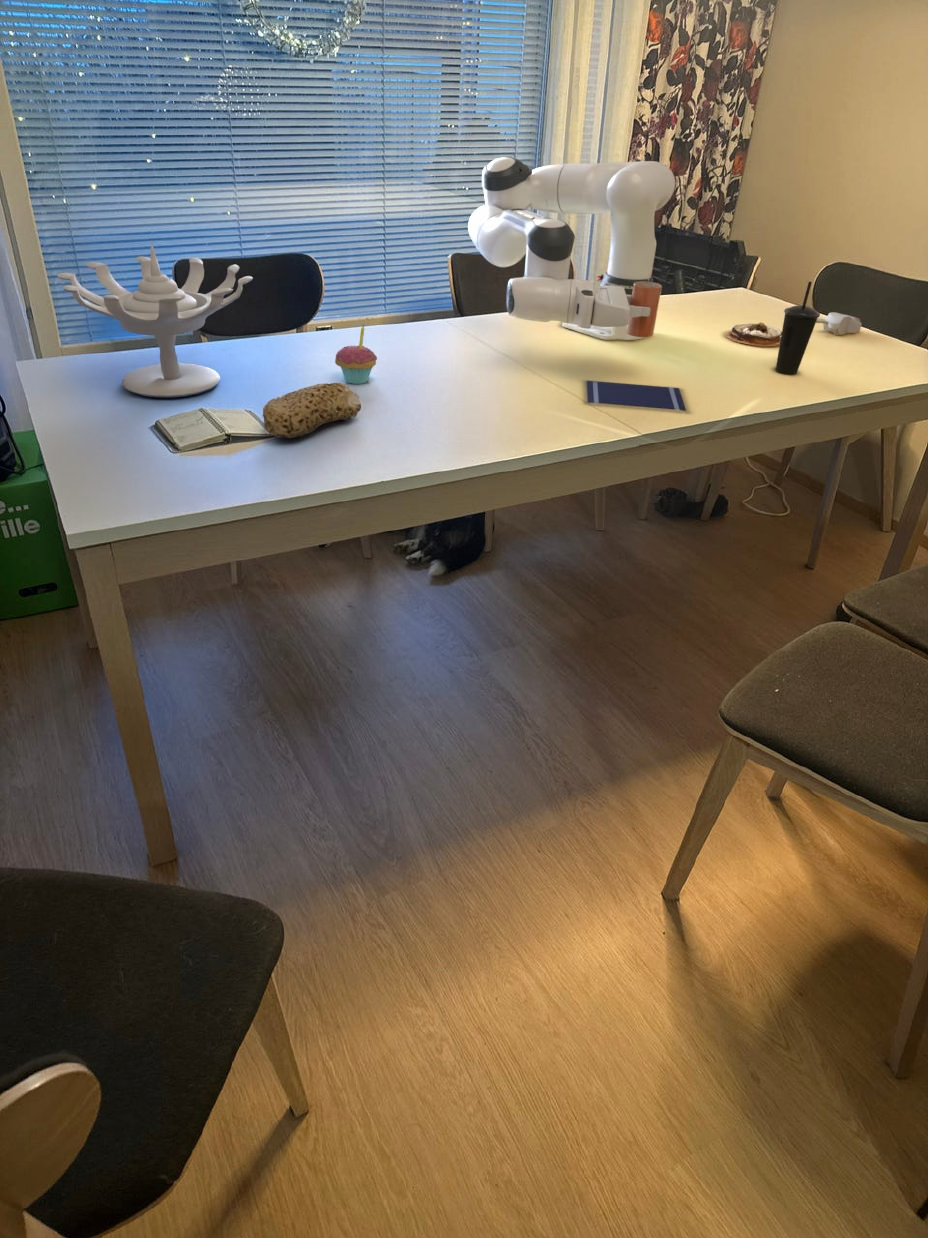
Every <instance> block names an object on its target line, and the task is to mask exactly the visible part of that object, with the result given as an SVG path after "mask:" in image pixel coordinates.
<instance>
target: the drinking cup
mask: <svg viewBox="0 0 928 1238" xmlns="http://www.w3.org/2000/svg"><path fill="white" fill-rule="evenodd" d="M812 283H813V282H812V281H808V283H807V286H806V290H805V294H804V298H803V301H802V304H799V305H793V306H790V307H786V308H785V309H784V310H783V313H784V318H783V323H782V329H781V332H782V335H781V336H780V337H781V341H780V345H778V351H777V352H778V354H777V358H776V365H775V372H777V373H778V374H781V375H787V376H795V375H797V374H798V371H799V368H800V366H801V363H802V361H803V358H804V356H805V353H806V349H807V347H808V344H809V342H810V339H811V336H812V334H813V331H814V330H815V329H814V328H815V326H816V324H817V323H816V321H817V318H820V315H821V313H820V312H819V311H817V310H816V309H814V308H813V307H811V306H809V305H807V302H808V298H809V295H810V290H811V287H812Z"/></svg>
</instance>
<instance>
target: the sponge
mask: <svg viewBox="0 0 928 1238" xmlns="http://www.w3.org/2000/svg"><path fill="white" fill-rule="evenodd" d="M361 409H362V403H361V400H360V397H359V396H358V394H357V393H355V392H354V391H353V390H352V389H351V388H349V387H348V386H347V384H344V383H341V382H330V383H324V382H323V383H318V384H317V383H316V384H314V385H310V386H307V387H303V388H299V389H297V390H293V391H291V392H288V393H286V394H284V395H281V397H280V396H277V397H275V398H271V399H270V400H269V401H267V403H266V404H265V405H264V406H263V408H262V417H263V426H264V428H265V430H266V431H267V432H268V433H269V434H270V435H272V436H275V437H278V438H285V439H294V438H299V437H303V436H304V435H307V434H309V433H312V432H314V431H315V430H316V429H317V428H319V427H320V426H321V425H324V424H329V422H335V421H341V420H350V419H352V418H353V417H355V418H356V416H357V415H358V413H360V411H361Z"/></svg>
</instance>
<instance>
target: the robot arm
mask: <svg viewBox="0 0 928 1238" xmlns="http://www.w3.org/2000/svg"><path fill="white" fill-rule="evenodd" d="M481 187H482V188H483V195H484V204H485V205H481V206H479V207H477V208H476V209H475V210H474V211H473V212H472V213H471V215H470V217H469V221H468V223H467V224H468V225H467V229H468V234H469V237H470V239H471V241H472V243H473V245H474V246H475V248H476V249H477V251H478V252H479V254H481V256H482V257H483V258H484V259H485V260H486V261H487V262H489V263H490V264H491V265H493V266H496V267H499V268H508V267H512V266H514V265H516V264H518V263H519V262H520V261H522V259H523V258H524V257H525V261H524V262H525V263H524V272H523V273H524V274H523V276H522V277H521V276H520V277H512V278H510V279H509V280H508V282H507V285H506V293H505V294H506V295H505V298H506V299H505V300H506V301H505V302H506V303H505V304H506V310H507V312H508V315H509V316H511V317H514V318H515V319H519V320H525V321H532V322H540V323H548V322H560V323H562V325H561V326H562V327H563V328H566V329H569V330H572V331H574V332H578V333H581V334H584V335H588V336H589V337H590V336H591V337H593V338H597V339H600V340H604V341H613V340H619V341H620V340H621V341H624V340H625V341H633V340H634V341H635V340H642V339H645V338H646V337H635V336H631V335H629V334H627V333H626V330H627V325H628V323H629V317H631V318H634V317H640V316H645V317H648V316H649V315H650V310H651V309H650V307H649V306H633V305H630V304H631V297H632V291H633V285H634V283H635V282H640V281H645V282H653V276H652V274H653V268H654V262H655V257H656V252H657V251H656V250H657V239H656V235H655V215H656V211H658V210H661V209H662V208H663V207H664V206H665V205H666V204H667V203H668V202H669V201H670V200H671V198H672V196H673V194H674V192H675V188H676V179H675V176H674V172H673V171H672V170H671V168H669V167H668V166H667V165H666V164H664V163H662V162H659V161H657V160H656V161H654V160H647V161H646V160H645V161H644V160H643V161H618V162H616V161H615V162H594V163H593V162H590V163H589V162H588V163H556V164H550V165H549V164H548V165H543V166H540V167H536V168H534V169H532V168H531V166H530V165H529V164H525V163H524V162H522V161H521V160H520V159H518V158H516V157H512V156H502V157H501V156H500V157H497V158H494V159H493V160H491V161H489V162H487V164H486V165H485V166H484V167H483V169H482V171H481ZM534 210H537V211H542V212H547V213H551V214H565V215H566V214H568V215H570V214H571V215H600V214H610V215H609V217H610V247H609V255H608V262H607V271H606V272H604V273H602V274H600V275H598V276H596V278H597V279H596V282H599V284H598V285H597V284H596V285H594V280H591V279H589V280H587V279H575V278H569V274H570V266H571V259H572V253H573V248H574V243H575V240H576V239H575V238H576V236H575V233H574V231H573V230H572V228H571V227H570V225H569V224H568V223H567V222H566V221H563V220H560V219H556V218H551V217H547V216H545V215H542V214H539V213H536V212H535V211H534Z"/></svg>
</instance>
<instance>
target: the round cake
mask: <svg viewBox="0 0 928 1238" xmlns="http://www.w3.org/2000/svg"><path fill="white" fill-rule="evenodd" d="M781 335H782V330H780V329H779V328H776V327H773V326H770V325H766V324H765V323H764V322H758V323H742V324H736V325H734V326H733V327H732V328H731V330H730V331H729V332H726V334H725V337H726V338H727V339H728V340H730V341H733V342H735V343H740V344H745V345H749V346H755V347H777V346H780V341H781Z"/></svg>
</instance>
